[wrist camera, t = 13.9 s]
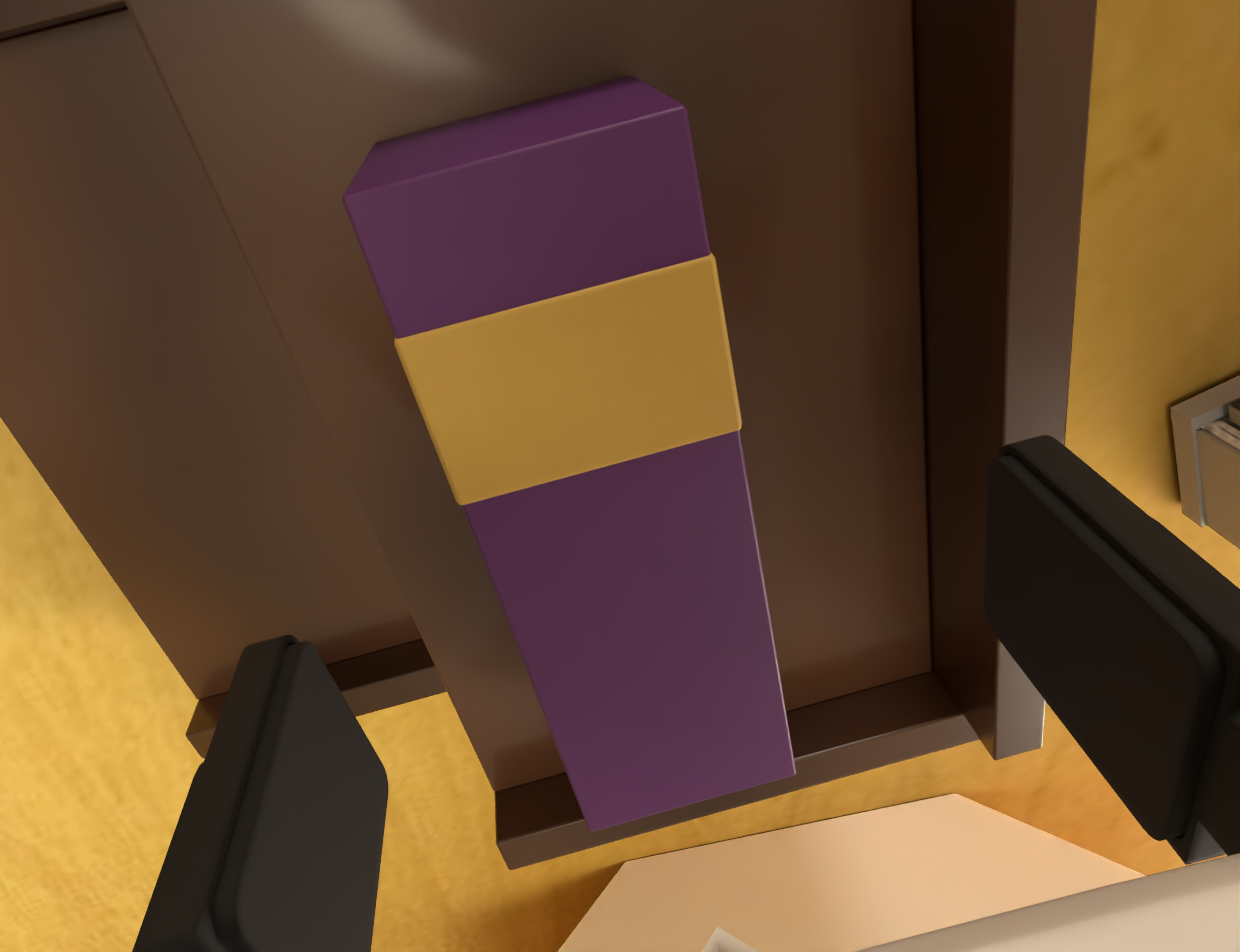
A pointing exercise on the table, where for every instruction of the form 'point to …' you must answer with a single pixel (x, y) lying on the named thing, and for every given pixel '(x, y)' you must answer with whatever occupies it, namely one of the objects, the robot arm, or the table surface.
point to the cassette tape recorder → (1210, 458)
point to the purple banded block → (589, 429)
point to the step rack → (384, 401)
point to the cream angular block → (839, 883)
